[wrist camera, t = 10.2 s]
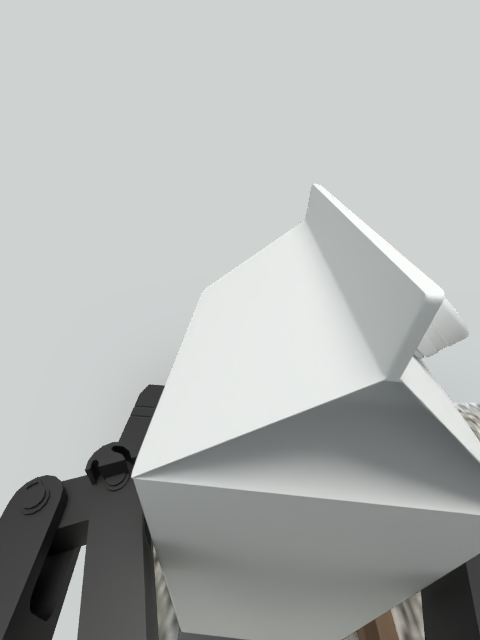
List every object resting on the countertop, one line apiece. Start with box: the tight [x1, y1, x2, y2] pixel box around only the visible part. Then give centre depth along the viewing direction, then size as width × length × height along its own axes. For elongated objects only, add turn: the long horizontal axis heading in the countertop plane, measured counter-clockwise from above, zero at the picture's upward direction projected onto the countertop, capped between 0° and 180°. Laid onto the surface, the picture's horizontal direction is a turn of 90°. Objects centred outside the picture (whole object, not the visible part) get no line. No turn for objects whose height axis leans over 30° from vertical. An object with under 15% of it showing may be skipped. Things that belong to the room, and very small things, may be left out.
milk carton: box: [131, 184, 480, 640], centre depth 11 cm, size 7×7×19 cm
